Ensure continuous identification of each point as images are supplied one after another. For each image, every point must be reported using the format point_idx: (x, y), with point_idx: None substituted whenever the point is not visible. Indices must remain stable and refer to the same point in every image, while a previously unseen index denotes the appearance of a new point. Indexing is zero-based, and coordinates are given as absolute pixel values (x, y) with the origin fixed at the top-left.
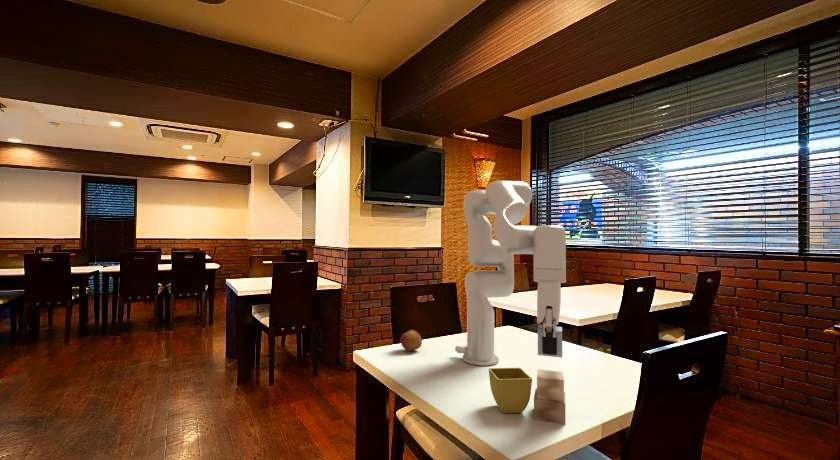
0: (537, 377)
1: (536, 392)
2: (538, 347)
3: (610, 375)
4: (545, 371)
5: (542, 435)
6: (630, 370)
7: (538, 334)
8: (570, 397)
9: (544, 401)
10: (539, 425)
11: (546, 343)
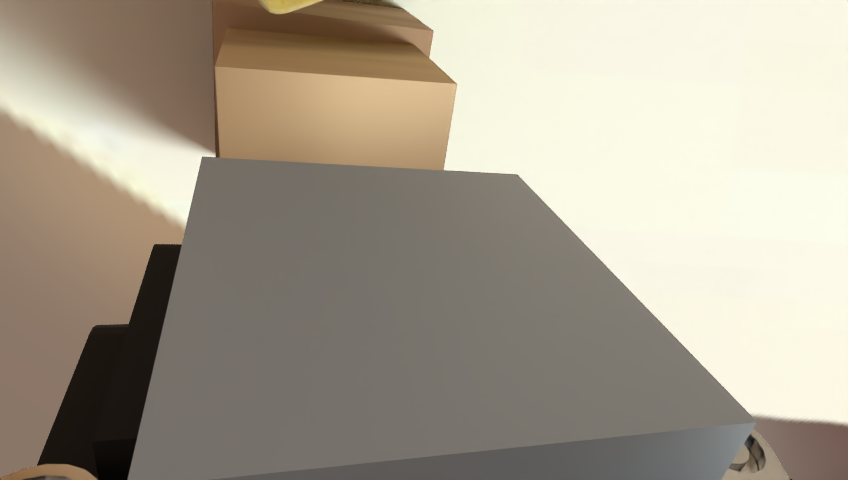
0: (217, 70)
1: (349, 32)
2: (194, 219)
3: (786, 359)
4: (413, 150)
5: (6, 20)
6: (818, 415)
7: (157, 387)
8: (563, 203)
9: (215, 78)
10: (146, 12)
11: (61, 411)
